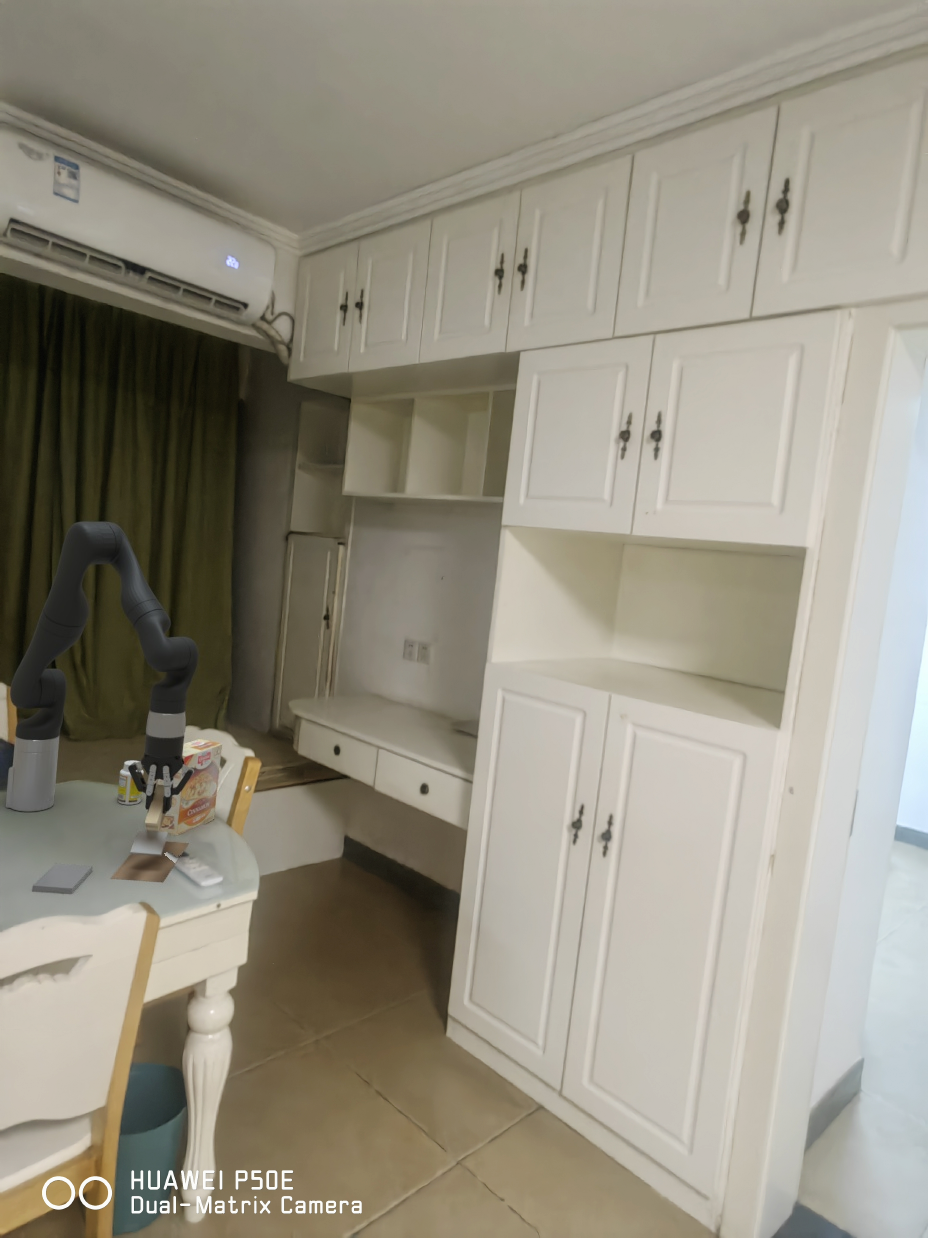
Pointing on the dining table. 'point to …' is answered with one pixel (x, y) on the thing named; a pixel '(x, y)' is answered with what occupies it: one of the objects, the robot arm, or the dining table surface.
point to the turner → (152, 828)
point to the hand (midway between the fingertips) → (158, 811)
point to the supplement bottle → (128, 786)
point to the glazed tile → (62, 878)
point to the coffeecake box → (195, 788)
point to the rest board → (150, 865)
